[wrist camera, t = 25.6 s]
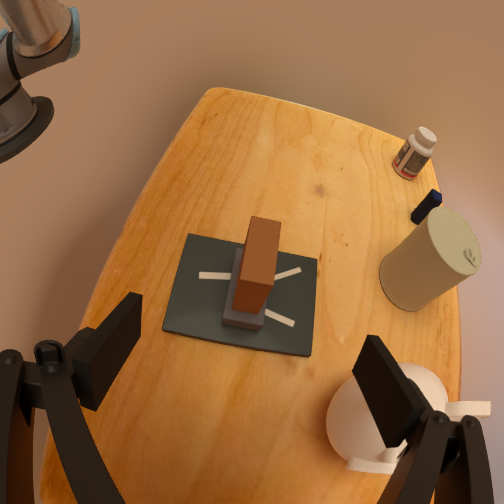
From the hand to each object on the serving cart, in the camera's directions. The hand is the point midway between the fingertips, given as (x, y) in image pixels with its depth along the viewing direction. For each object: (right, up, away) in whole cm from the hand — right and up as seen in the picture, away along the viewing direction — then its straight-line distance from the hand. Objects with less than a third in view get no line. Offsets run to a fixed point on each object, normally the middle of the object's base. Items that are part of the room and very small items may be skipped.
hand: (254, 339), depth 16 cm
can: (+21, +1, +22) cm, 31 cm away
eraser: (+27, +10, +28) cm, 40 cm away
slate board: (-1, 0, +18) cm, 18 cm away
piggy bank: (+12, -14, +12) cm, 22 cm away
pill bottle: (+29, +20, +34) cm, 49 cm away
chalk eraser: (-1, 0, +17) cm, 17 cm away
